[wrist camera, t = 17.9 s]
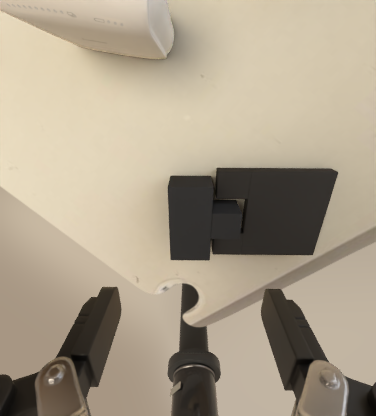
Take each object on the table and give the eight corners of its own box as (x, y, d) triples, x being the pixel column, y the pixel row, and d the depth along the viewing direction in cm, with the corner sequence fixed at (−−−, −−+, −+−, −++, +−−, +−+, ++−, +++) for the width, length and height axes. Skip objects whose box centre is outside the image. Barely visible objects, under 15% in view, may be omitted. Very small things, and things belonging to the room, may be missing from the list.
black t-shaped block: (231, 242, 32) (236, 260, 29) (172, 242, 32) (170, 260, 29) (238, 176, 28) (245, 187, 24) (170, 175, 28) (167, 187, 24)
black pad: (307, 248, 33) (312, 255, 31) (211, 248, 33) (212, 254, 31) (331, 168, 27) (338, 172, 26) (216, 167, 27) (218, 171, 26)
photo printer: (69, 48, 22) (-52, -2, 11) (65, -9, 20) (-86, -137, 9) (171, 65, 23) (154, 34, 12) (177, 12, 21) (161, -86, 10)
